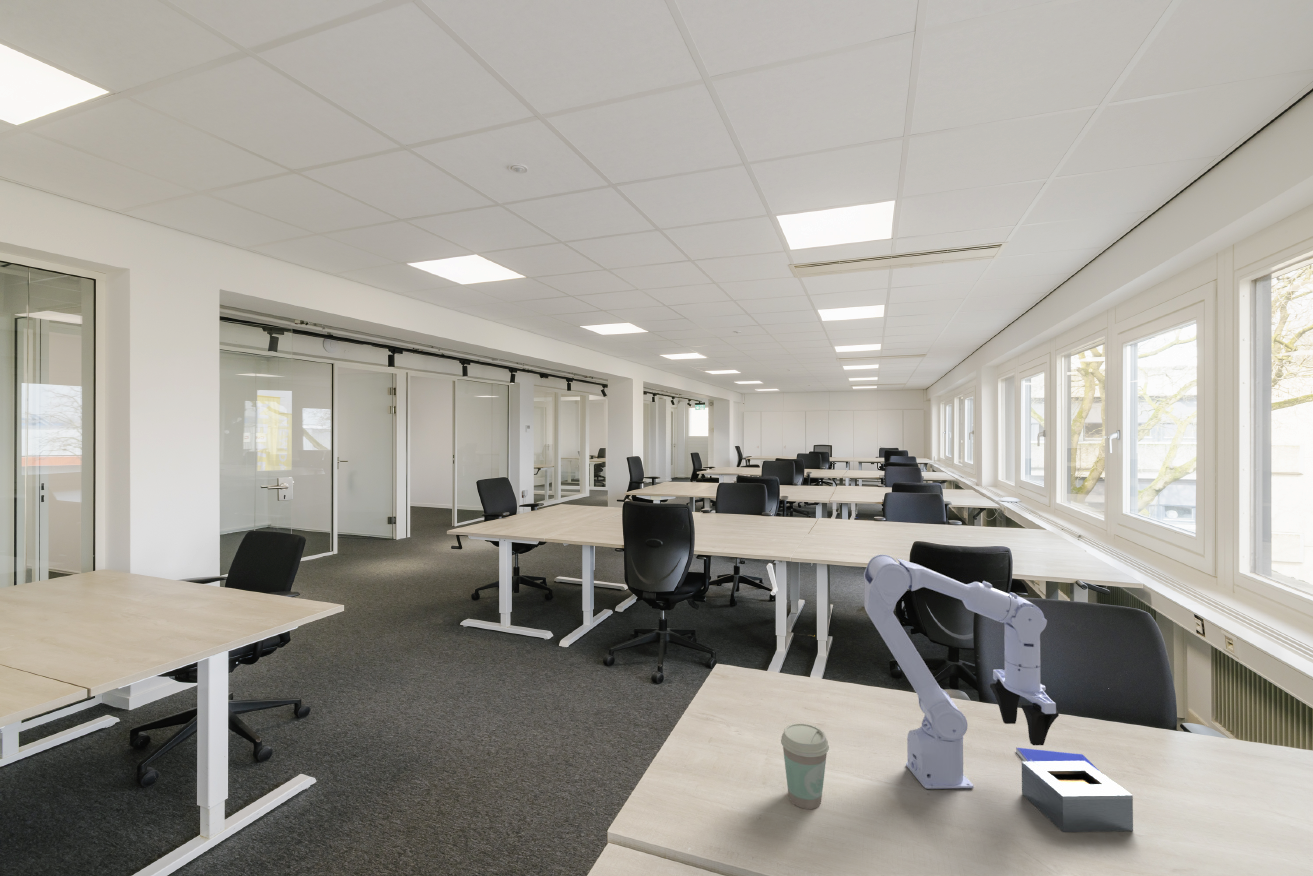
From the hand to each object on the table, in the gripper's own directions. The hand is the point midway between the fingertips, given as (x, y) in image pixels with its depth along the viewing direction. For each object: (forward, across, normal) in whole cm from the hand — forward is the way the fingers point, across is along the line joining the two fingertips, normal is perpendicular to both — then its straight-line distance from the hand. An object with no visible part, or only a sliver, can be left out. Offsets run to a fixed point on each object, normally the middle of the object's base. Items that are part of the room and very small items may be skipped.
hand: (1022, 733), depth 104 cm
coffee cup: (+10, -3, +43) cm, 44 cm away
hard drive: (+11, +6, -12) cm, 17 cm away
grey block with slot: (+10, -8, -4) cm, 13 cm away
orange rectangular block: (+10, -8, -4) cm, 13 cm away
